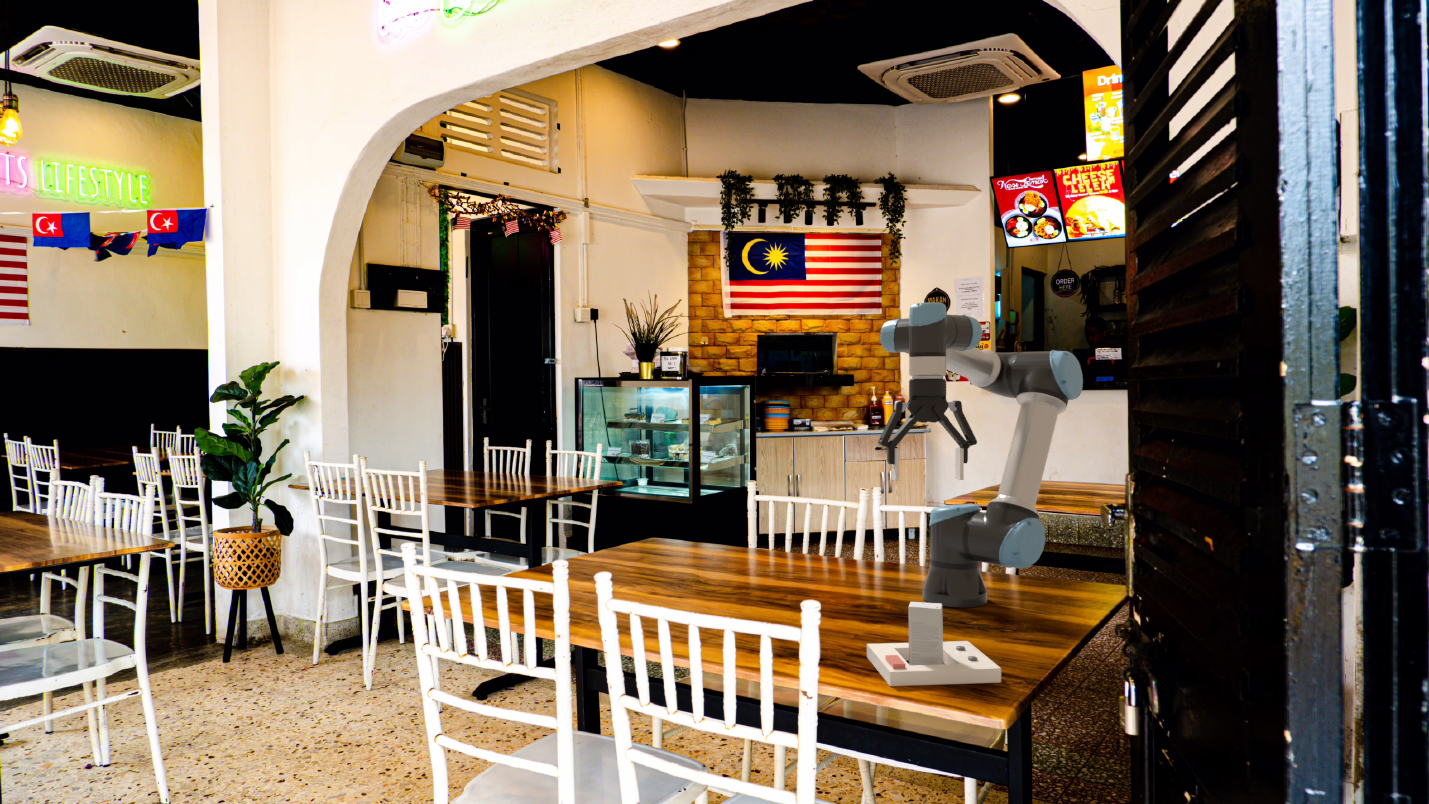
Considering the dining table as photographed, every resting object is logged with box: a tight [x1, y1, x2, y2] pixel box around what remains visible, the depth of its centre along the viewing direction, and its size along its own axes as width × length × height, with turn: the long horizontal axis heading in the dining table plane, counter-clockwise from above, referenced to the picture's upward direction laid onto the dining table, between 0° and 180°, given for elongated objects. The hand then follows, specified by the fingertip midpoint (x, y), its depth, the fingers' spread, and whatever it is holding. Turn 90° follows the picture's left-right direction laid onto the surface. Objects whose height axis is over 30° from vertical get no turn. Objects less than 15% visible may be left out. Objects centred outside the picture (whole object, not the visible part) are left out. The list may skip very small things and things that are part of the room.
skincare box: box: [907, 601, 944, 665], centre depth 158 cm, size 6×4×12 cm
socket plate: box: [866, 640, 1002, 687], centre depth 158 cm, size 20×16×3 cm
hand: (927, 479), depth 177 cm, fingers open, 13 cm apart
